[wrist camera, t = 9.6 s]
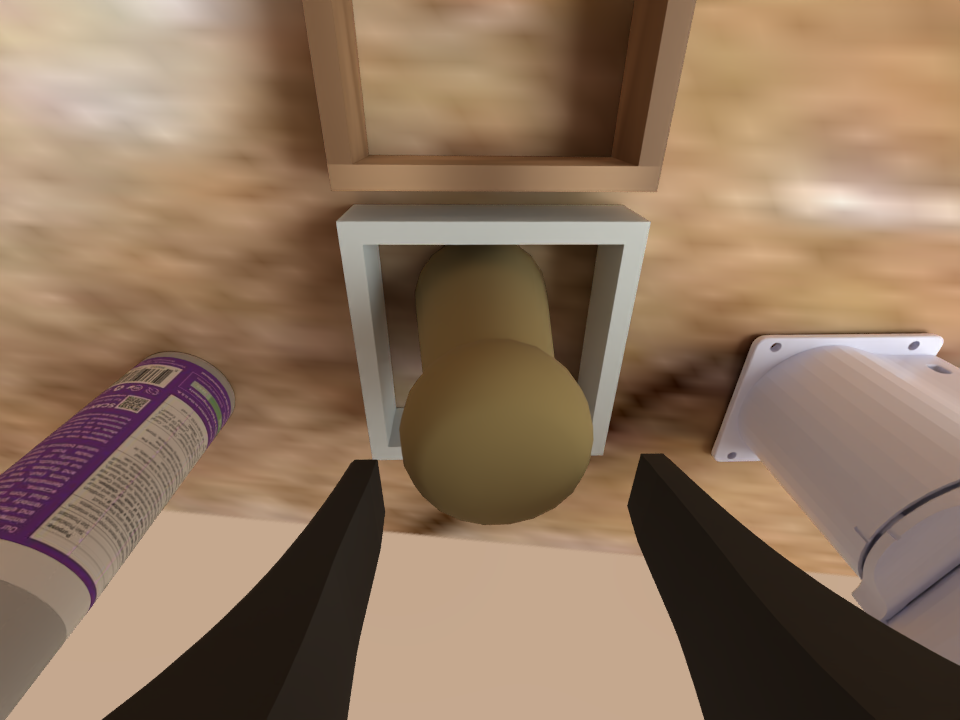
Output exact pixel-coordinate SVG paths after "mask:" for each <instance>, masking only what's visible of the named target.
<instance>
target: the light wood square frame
mask: <svg viewBox="0 0 960 720" xmlns="http://www.w3.org/2000/svg"><path fill="white" fill-rule="evenodd" d="M302 4H303V11H304V17H305V24H306V30H307V37H308V43H309V50H310V56H311V63H312V69H313V76H314V82H315V89H316V95H317V102H318V108H319V115H320V121H321V128H322V134H323V141H324V147H325V154H326V160H327V167H328V173H329V180H330V186H331V191H540V192H657V189H658V184H659V179H660V175H661V170H662V165H663V160H664V155H665V150H666V145H667V140H668V136H669V131H670V126H671V121H672V116H673V111H674V106H675V101H676V97H677V92H678V87H679V82H680V77H681V72H682V67H683V62H684V58H685V53H686V48H687V43H688V38H689V33H690V28H691V23H692V19H693V14H694V9H695V4H696V0H634V7H633V14H632V21H631V27H630V34H629V41H628V47H627V54H626V61H625V68H624V74H623V81H622V88H621V94H620V101H619V108H618V115H617V121H616V128H615V135H614V141H613V148H612V155H611V157H552V156H415V155H369V153H368V143H367V134H366V125H365V116H364V106H363V97H362V88H361V79H360V70H359V60H358V51H357V42H356V33H355V23H354V14H353V5H352V0H302Z"/></svg>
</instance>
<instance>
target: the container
mask: <svg viewBox="0 0 960 720" xmlns="http://www.w3.org/2000/svg"><path fill="white" fill-rule="evenodd" d="M234 407H235V396H234V392H233V389H232V387H231V385H230V383H229V382H228V380H227V379H226V378H225V377H224V375H223V374H222V373H221V372H220V371H219V370H217V369H216V368H215V367H214V366H212V365H211V364H209V363H208V362H206V361H204V360H202V359H200V358H198V357H195V356H192V355H189V354H185V353H179V352H162V353H157V354H154V355H151V356H149V357H147V358H146V359H144V360H143V361H142V362H140V363H139V364H138V365H136V366H135V367H134V368H132V369H131V370H130V371H129V372H128V373H126V374H125V375H124V376H123V377H121V378H120V379H119V380H118V381H116V382H115V383H114V384H113V385H111V386H110V387H109V388H108V389H106V390H105V391H104V392H103V393H102V394H100V395H99V396H98V397H97V398H95V399H94V400H93V401H92V402H90V403H89V404H88V405H87V406H85V407H84V408H83V409H82V410H81V411H79V412H78V413H77V414H76V415H74V416H73V417H72V418H71V419H69V420H68V421H67V422H66V423H64V424H63V425H62V426H61V427H59V428H58V429H57V430H56V431H55V432H53V433H52V434H51V435H50V436H48V437H47V438H46V439H45V440H43V441H42V442H41V443H40V444H38V445H37V446H36V447H35V448H33V449H32V450H31V451H30V452H29V453H27V454H26V455H25V456H24V457H22V458H21V459H20V460H19V461H17V462H16V463H15V464H14V465H12V466H11V467H10V468H9V469H7V470H6V471H5V472H4V473H3V474H1V475H0V720H5V719H6V718H7V717H8V715H9V714H10V713H11V711H12V710H13V709H14V707H15V706H16V705H17V703H18V702H19V701H20V699H21V698H22V697H23V696H24V694H25V693H26V692H27V690H28V689H29V688H30V687H31V685H32V684H33V683H34V681H35V680H36V679H37V677H38V676H39V675H40V673H41V672H42V671H43V670H44V668H45V667H46V665H47V664H48V663H49V662H50V660H51V659H52V658H53V656H54V655H55V654H56V652H57V651H58V650H59V649H60V647H61V646H62V645H63V643H64V642H65V641H66V639H67V638H68V637H69V636H70V634H71V633H72V632H73V630H74V629H75V628H76V626H77V625H78V624H79V623H80V621H81V620H82V619H83V617H84V616H85V615H86V614H87V612H88V611H89V610H90V608H91V607H92V606H93V604H94V603H95V601H96V600H97V599H98V597H99V596H100V595H101V593H102V592H103V590H104V589H105V588H106V586H107V585H108V584H109V582H110V581H111V579H112V578H113V577H114V575H115V574H116V573H117V571H118V570H119V569H120V567H121V566H122V564H123V563H124V562H125V560H126V559H127V558H128V556H129V555H130V553H131V552H132V551H133V549H134V548H135V546H136V545H137V544H138V542H139V541H140V540H141V538H142V537H143V536H144V534H145V533H146V531H147V530H148V529H149V527H150V526H151V525H152V523H153V522H154V520H155V519H156V518H157V516H158V515H159V514H160V512H161V511H162V510H163V508H164V507H165V505H166V504H167V503H168V501H169V500H170V499H171V497H172V496H173V494H174V493H175V492H176V490H177V489H178V488H179V486H180V485H181V483H182V482H183V481H184V479H185V478H186V477H187V475H188V474H189V472H190V471H191V470H192V468H193V467H194V466H195V464H196V463H197V461H198V460H199V459H200V457H201V456H202V455H203V453H204V452H205V451H206V449H207V448H208V446H209V445H210V444H211V442H212V441H213V440H214V438H215V437H216V435H217V434H218V433H219V431H220V430H221V429H222V427H223V426H224V424H225V423H226V422H227V420H228V419H229V417H230V416H231V414H232V412H233V410H234Z"/></svg>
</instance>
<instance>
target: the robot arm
mask: <svg viewBox="0 0 960 720" xmlns="http://www.w3.org/2000/svg"><path fill="white" fill-rule="evenodd" d="M775 343H776V344H775ZM773 344H775V346H774V347H772V348H771V346H772V345H773ZM942 344H943V338H942V337H941V336H938V335H936V334H933V333H920V334H822V335H763V336H760V337H758V338H756V339H755V340H754V341H753V343H752V345H751V347H750V350H749V353H748V355H747V358H746V361H745V364H744V366H743V369H742V372H741V374H740V377H739V380H738V382H737V385H736V388H735V390H734V393H733V396H732V398H731V401H730V404H729V406H728V409H727V412H726V415H725V417H724V420H723V423H722V425H721V428H720V431H719V433H718V436H717V439H716V441H715V444H714V447H713V449H712V453H711V455H712V456H713V458H714V459H715V460H716V461H719V462H731V461H761V462H762V463H763V464H764V465H765V467H766V468H767V469H768V470H769V471H770V473H771V474H772V475H773V476H774V477H775V478H776V480H777V481H778V482H779V483H780V484H781V486H782V487H783V488H784V489H785V490H786V491H787V493H788V494H789V495H790V496H791V497H792V499H793V500H794V501H795V502H796V503H797V504H798V506H799V507H800V508H801V509H802V510H803V512H804V513H805V514H806V515H807V516H808V517H809V519H810V520H811V521H812V522H813V523H814V525H815V526H816V527H817V528H818V529H819V530H820V532H821V533H822V534H823V535H824V536H825V538H826V539H827V540H828V541H829V542H830V543H831V545H832V546H833V547H834V548H835V549H836V550H837V552H838V553H839V554H840V555H841V556H842V558H843V559H844V560H845V561H846V562H847V563H848V565H849V566H850V567H851V568H852V569H853V571H854V572H855V573H856V574H857V575H858V576H859V578H860V579H861V580H862V581H861V583H860V585H859V586H858V587H857V588H856V589H855V590H854V591H853V592H852V596H853V597H854V599H855V600H856V601H857V602H858V604H859V605H860V606H861V607H862V608H863V610H864V611H865V612H864V611H863V610H861V609H860V608H858V607H856V606H855V605H853V604H852V603H850V602H848V601H847V600H845V599H844V598H842V597H841V596H839V595H838V594H836V593H834V592H833V591H831V590H830V589H828V588H827V587H825V586H824V585H822V584H821V583H819V582H818V581H816V580H815V579H814V578H812V577H811V576H809V575H808V574H807V573H805V572H804V571H802V570H801V569H800V568H798V567H797V566H795V565H794V564H793V563H791V562H790V561H788V560H787V559H786V558H784V557H783V556H782V555H780V554H779V553H778V552H776V551H775V550H774V549H772V548H771V547H770V546H768V545H767V544H766V543H765V542H763V541H762V540H761V539H760V538H758V537H757V536H756V535H755V534H753V533H752V532H751V531H750V530H748V529H747V528H746V527H745V526H744V525H742V524H741V523H740V522H739V521H738V520H736V519H735V518H734V517H733V516H732V515H731V514H729V513H728V512H727V511H726V510H725V509H724V508H722V507H721V506H720V505H719V504H718V503H717V502H716V501H714V500H713V499H712V498H711V497H710V496H709V495H708V494H707V493H706V492H704V491H703V490H702V489H701V488H700V487H699V486H698V485H697V484H696V483H695V482H694V481H692V480H691V479H690V478H689V477H688V476H687V475H686V474H685V473H684V472H683V471H682V470H681V469H679V468H678V467H677V466H676V465H675V464H674V463H673V462H672V461H671V460H670V459H668V458H667V457H666V456H665V455H664V454H641V456H640V460H639V463H638V467H637V471H636V475H635V479H634V482H633V486H632V490H631V494H630V498H629V501H628V505H627V506H628V510H629V513H630V517H631V521H632V524H633V528H634V531H635V534H636V538H637V541H638V543H639V546H640V548H641V551H642V553H643V556H644V558H645V560H646V563H647V565H648V567H649V570H650V572H651V574H652V577H653V579H654V581H655V584H656V586H657V588H658V591H659V593H660V595H661V598H662V600H663V602H664V605H665V607H666V609H667V611H668V614H669V616H670V618H671V621H672V623H673V626H674V628H675V631H676V633H677V636H678V638H679V641H680V644H681V647H682V650H683V653H684V656H685V659H686V662H687V665H688V668H689V671H690V674H691V677H692V680H693V683H694V686H695V690H696V693H697V697H698V700H699V703H700V706H701V710H702V713H703V716H704V720H960V368H958V367H956V366H954V365H952V364H950V363H948V362H946V361H945V360H943V359H941V358H939V357H937V356H936V354H937V353H938V351H939V350H940V348H941V346H942ZM729 453H730V454H729ZM384 517H385V508H384V501H383V494H382V487H381V481H380V474H379V467H378V460H377V459H372V460H354V461H353V462H352V463H351V464H350V465H349V467H348V469H347V470H346V472H345V473H344V475H343V476H342V478H341V479H340V481H339V482H338V484H337V485H336V487H335V488H334V490H333V491H332V493H331V494H330V495H329V497H328V498H327V500H326V501H325V503H324V504H323V505H322V507H321V508H320V509H319V511H318V512H317V513H316V515H315V516H314V517H313V519H312V520H311V521H310V523H309V524H308V525H307V527H306V528H305V529H304V531H303V532H302V533H301V534H300V535H299V536H298V538H297V539H296V540H295V541H294V543H293V544H292V545H291V546H290V548H289V549H288V550H287V551H286V552H285V554H284V555H283V556H282V557H281V558H280V559H279V561H278V562H277V563H276V564H275V565H274V566H273V567H272V568H271V570H270V571H269V572H268V573H267V574H266V575H265V576H264V577H263V578H262V579H261V580H260V581H259V582H258V584H257V585H256V586H255V587H254V588H253V589H252V590H251V591H250V592H249V593H248V594H247V595H246V596H245V597H244V598H243V599H242V600H241V601H240V602H239V603H238V604H237V605H236V606H235V607H234V608H233V609H232V610H231V611H230V612H229V613H228V614H227V615H226V616H225V617H224V618H223V619H222V620H220V622H218V623H217V624H216V625H215V626H214V627H213V628H212V629H211V630H210V631H209V632H208V633H207V634H205V635H204V636H203V637H202V638H201V639H200V640H199V641H198V642H196V643H195V644H194V645H193V646H192V647H191V648H189V649H188V650H187V651H186V652H185V653H184V654H182V655H181V656H180V657H179V658H178V659H177V660H175V661H174V662H173V663H172V664H171V665H170V666H169V667H167V668H166V669H165V670H164V671H163V672H162V673H160V674H159V675H158V676H157V677H156V678H154V679H153V680H152V681H151V682H149V683H148V684H147V685H146V686H144V687H143V688H142V689H141V690H139V691H138V692H137V693H136V694H134V695H133V696H132V697H130V698H129V699H128V700H126V701H125V702H124V703H123V704H121V705H120V706H119V707H118V708H116V709H115V710H114V711H112V712H111V713H110V714H108V715H107V716H106V717H105V718H103V719H102V720H347V717H348V710H349V703H350V696H351V689H352V682H353V675H354V668H355V662H356V655H357V650H358V645H359V639H360V635H361V630H362V626H363V622H364V618H365V614H366V609H367V605H368V601H369V596H370V592H371V588H372V584H373V580H374V575H375V571H376V567H377V562H378V558H379V554H380V549H381V542H382V534H383V525H384Z"/></svg>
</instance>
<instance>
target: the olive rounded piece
mask: <svg viewBox="0 0 960 720" xmlns="http://www.w3.org/2000/svg"><path fill="white" fill-rule="evenodd" d="M415 303H416V315H417V325H418V334H419V343H420V352H421V362H422V371H423V374H422V375H421V376H420V378H419V379H418V380H417V381H416V383H415V384H414V386H413V387H412V389H411V390H410V391H409V394H408V398H407V401H406V404H405V407H404V410H403V414H402V418H401V422H400V427H399V432H400V442H401V452H402V457H403V463H404V467H405V469H406V470H407V472H408V474H409V476H410V478H411V480H412V481H413V483H414V485H415V487H416V488H417V489H418V491H419V492H420V493H421V494H422V496H423V497H424V498H426V499H427V500H428V501H429V502H430V503H431V504H432V505H433V506H435V507H436V508H437V509H438V510H439V511H441V512H443V513H446V514H448V515H450V516H452V517H454V518H456V519H459V520H461V521H467V522H472V523H477V524H482V525H500V524H512V523H516V522H521V521H525V520H529V519H533V518H535V517H537V516H539V515H541V514H543V513H545V512H547V511H549V510H551V509H553V508H555V507H556V506H558V505H559V504H560V503H561V502H562V501H563V500H565V499H566V498H567V497H568V496H569V495H570V494H571V493H572V492H573V491H574V489H575V488H576V486H577V484H578V483H579V481H580V480H581V478H582V476H583V475H584V473H585V471H586V468H587V466H588V464H589V461H590V456H591V451H592V446H593V440H594V439H593V424H592V419H591V415H590V410H589V406H588V402H587V400H586V398H585V395H584V393H583V391H582V389H581V388H580V386H579V385H578V384H577V382H576V381H575V379H574V378H573V377H572V375H571V374H570V372H569V371H568V370H567V368H565V367H564V366H563V365H562V364H561V363H560V362H559V361H558V360H556V359H555V358H554V350H553V342H552V333H551V325H550V316H549V308H548V299H547V291H546V287H545V283H544V279H543V275H542V272H541V270H540V269H539V267H538V266H537V264H536V263H535V261H534V260H533V258H532V257H531V255H529V254H528V253H527V252H525V251H524V250H523V249H521V248H520V247H519V246H518V245H446V246H444V247H443V248H442V249H440V250H439V251H438V252H436V253H435V254H433V255H432V256H431V258H430V259H429V261H428V262H427V264H426V265H425V266H424V268H423V269H422V271H421V272H420V275H419V279H418V282H417V286H416V289H415Z"/></svg>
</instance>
